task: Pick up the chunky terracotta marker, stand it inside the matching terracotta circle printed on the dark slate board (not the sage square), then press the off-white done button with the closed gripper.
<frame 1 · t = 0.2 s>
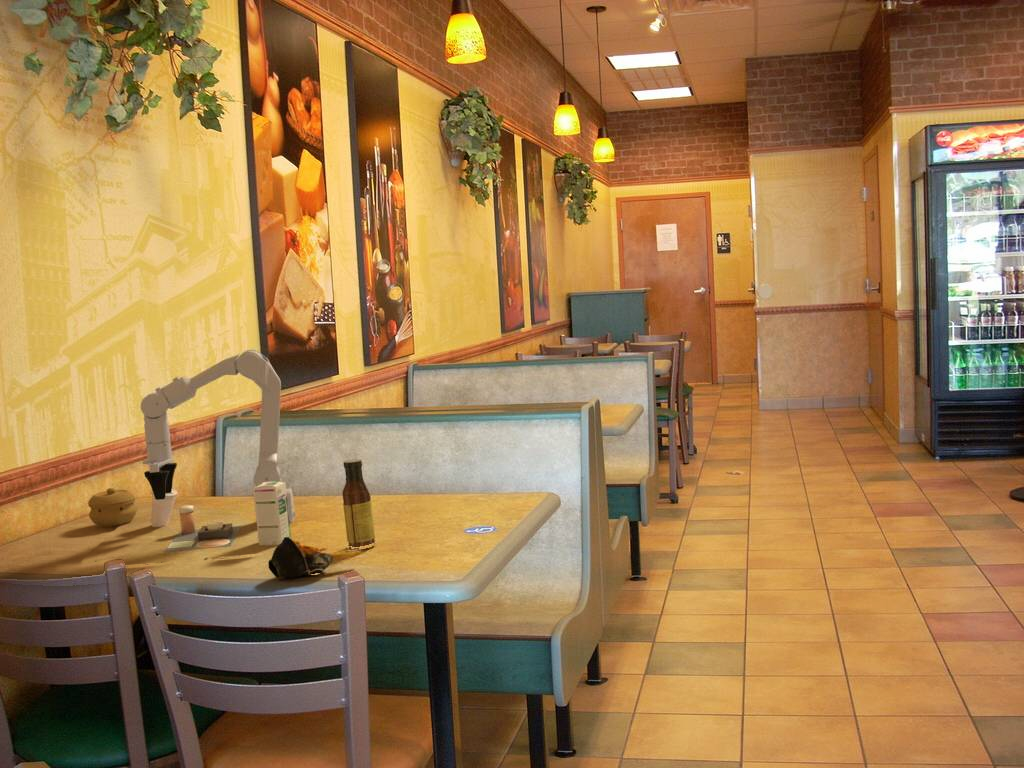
hand: (163, 496, 262), 10 cm above the table, fingers open, 7 cm apart
terracotta marker: (188, 532, 260), point 1 cm above the table, touching picture board
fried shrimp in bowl: (315, 575, 220), on the table
picture board: (204, 541, 254), on the table
button collar: (216, 539, 255), resting on picture board
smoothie: (159, 526, 271), on the table, touching gripper
pot: (114, 526, 278), on the table
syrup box: (275, 546, 246), on the table
sauce bottle: (361, 548, 240), on the table
done button: (215, 527, 255), point 3 cm above the table, slide at 0.0 cm
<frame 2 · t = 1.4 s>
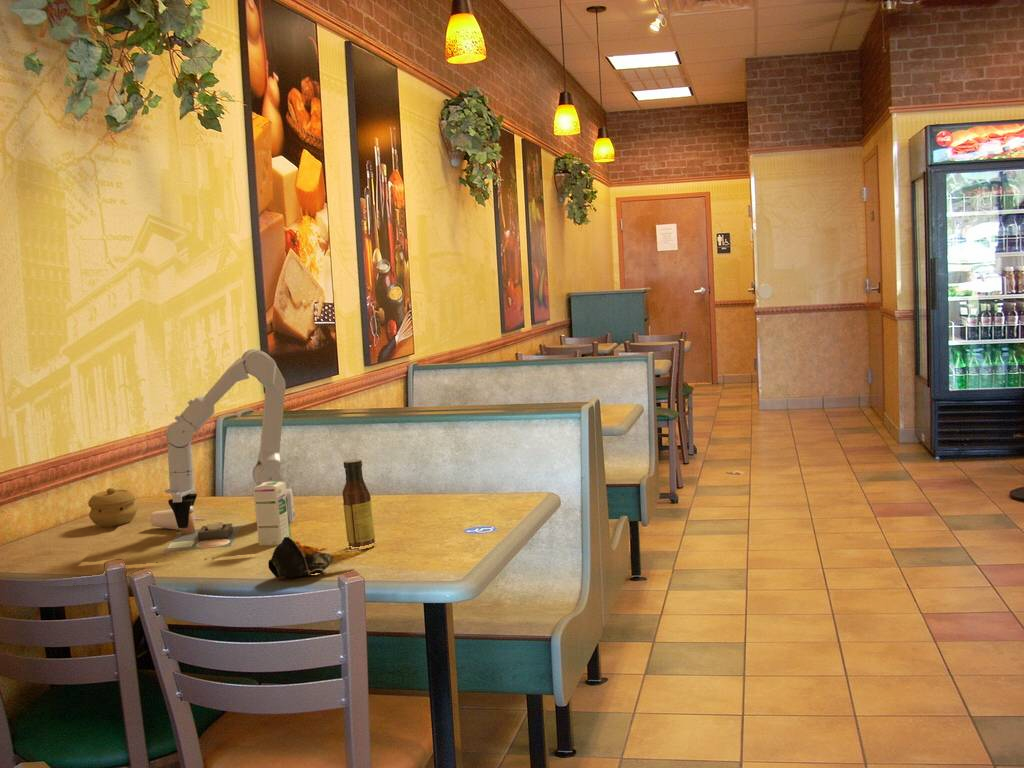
hand: (184, 525, 260), 3 cm above the table, fingers closed on terracotta marker, 3 cm apart
terracotta marker: (188, 533, 260), point 1 cm above the table, touching gripper, picture board
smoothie: (153, 518, 267), point 3 cm above the table, touching gripper, picture board
everything else where it was.
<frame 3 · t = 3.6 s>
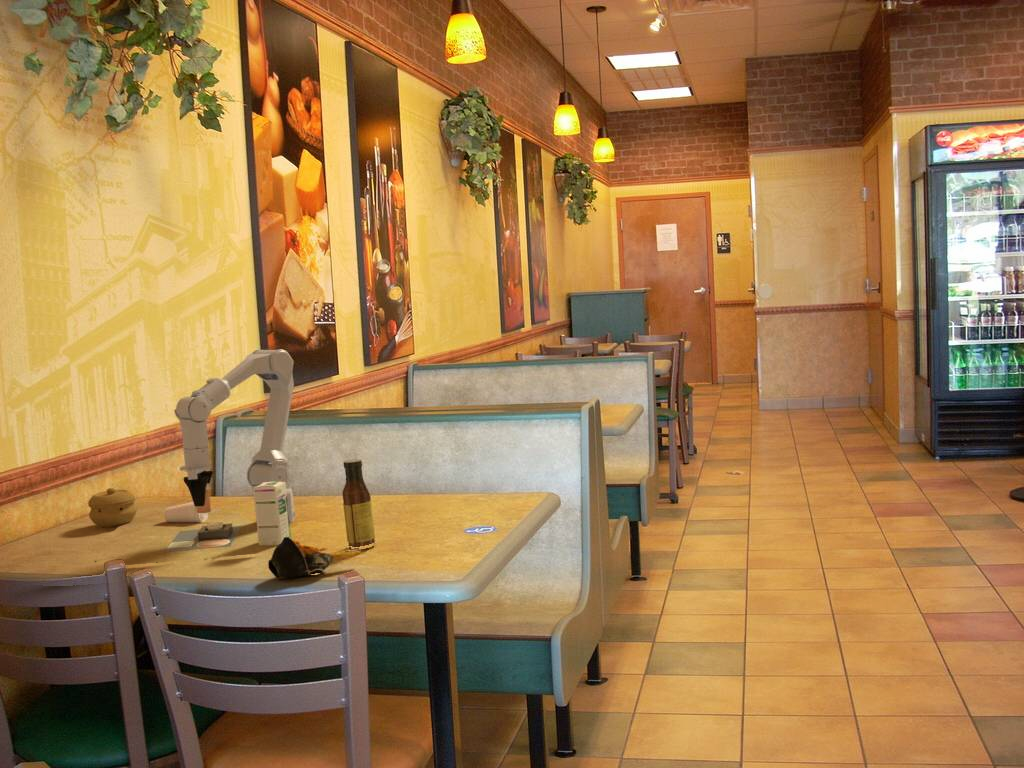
hand: (201, 504, 251), 9 cm above the table, fingers closed on terracotta marker, 3 cm apart
terracotta marker: (204, 511, 251), point 8 cm above the table, touching gripper
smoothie: (166, 515, 274), point 3 cm above the table
everything else where it was.
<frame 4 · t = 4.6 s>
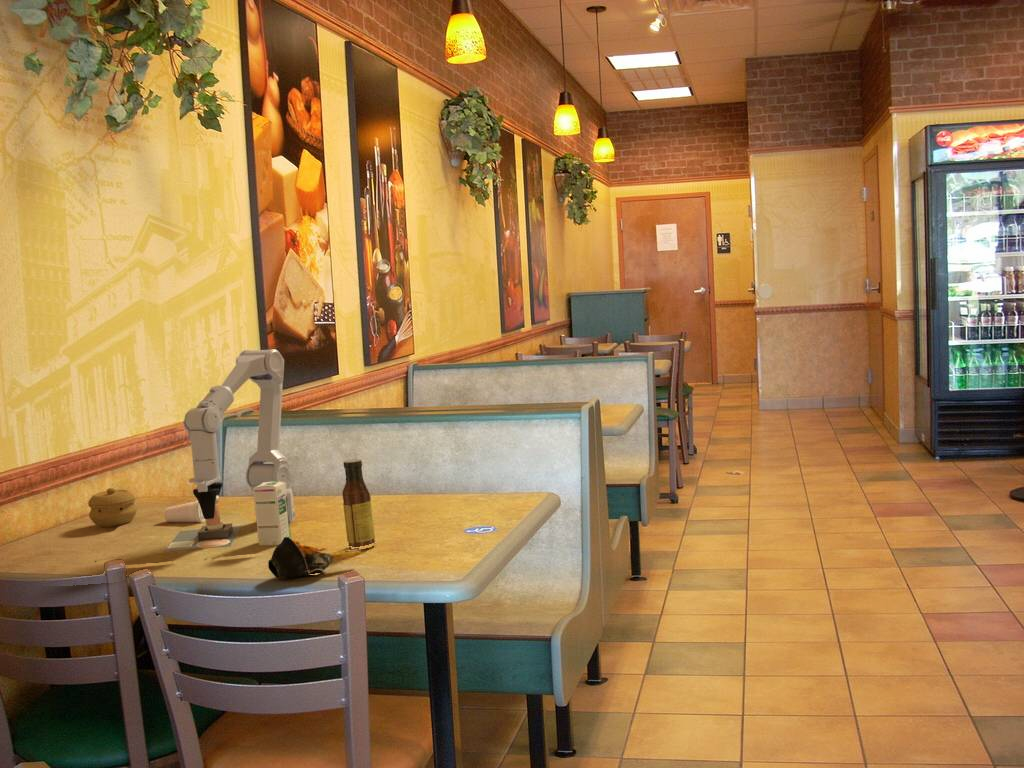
hand: (210, 516, 247), 7 cm above the table, fingers closed on terracotta marker, 3 cm apart
terracotta marker: (213, 524, 247), point 5 cm above the table, touching gripper
everything else where it was.
when the fingers open (4 cm above the table, at t = 5.7 s): terracotta marker stays where it is, resting on picture board.
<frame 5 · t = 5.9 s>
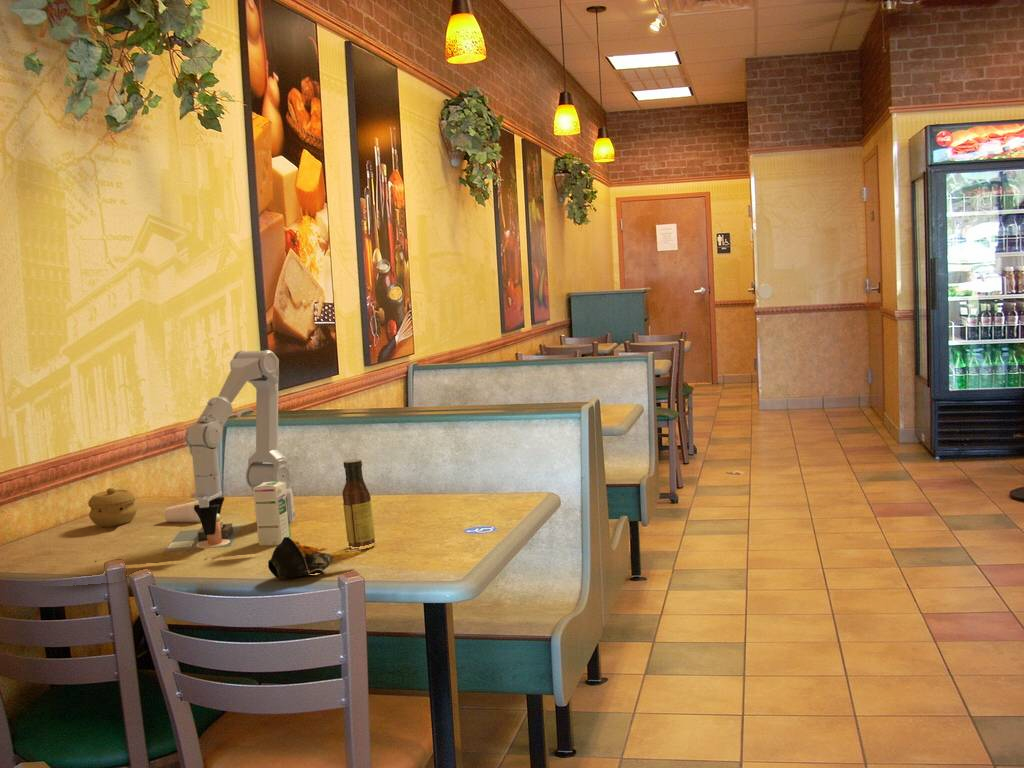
hand: (212, 531, 248), 4 cm above the table, fingers open, 5 cm apart
terracotta marker: (215, 542, 248), point 1 cm above the table, touching picture board
everything else where it was.
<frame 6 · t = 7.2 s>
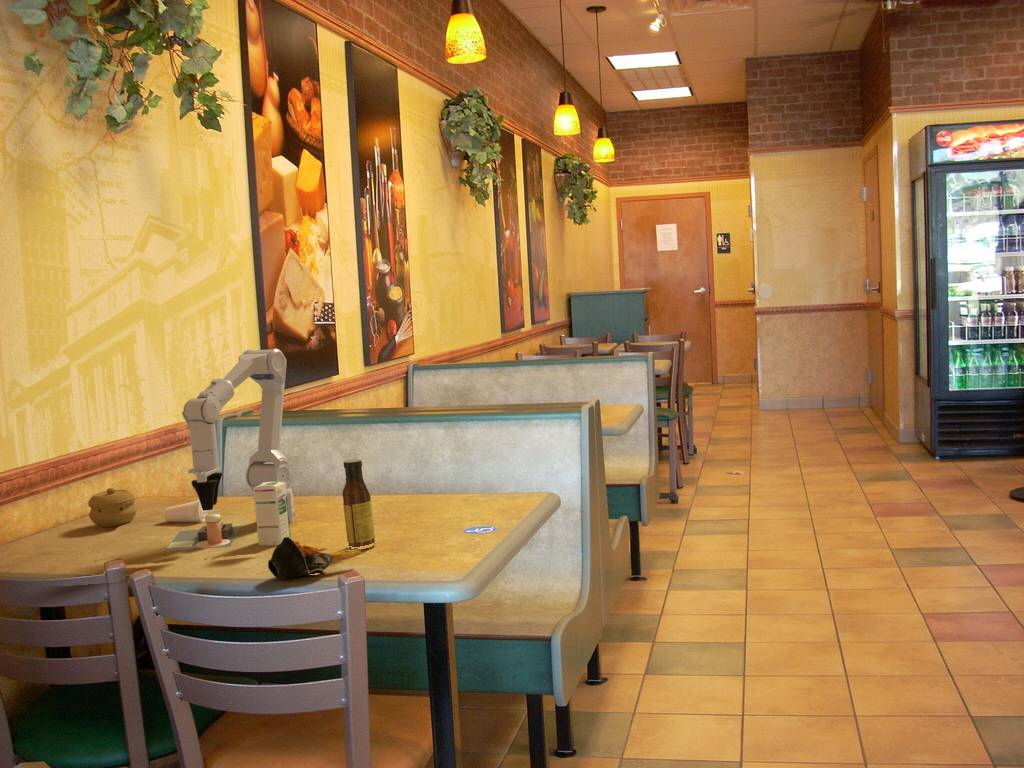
hand: (209, 507, 247), 9 cm above the table, fingers open, 5 cm apart
nothing on the table moved.
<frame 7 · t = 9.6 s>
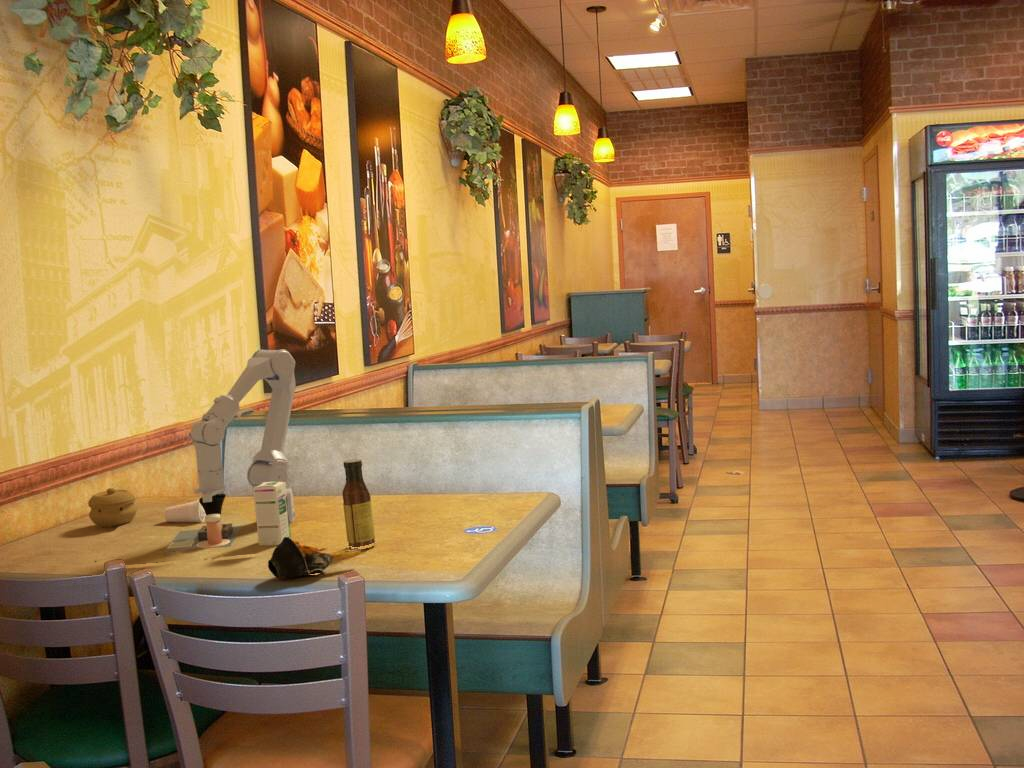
hand: (214, 525, 255), 3 cm above the table, fingers closed, pressing on done button
done button: (215, 529, 255), point 2 cm above the table, slide at 0.5 cm, touching gripper
everything else where it was.
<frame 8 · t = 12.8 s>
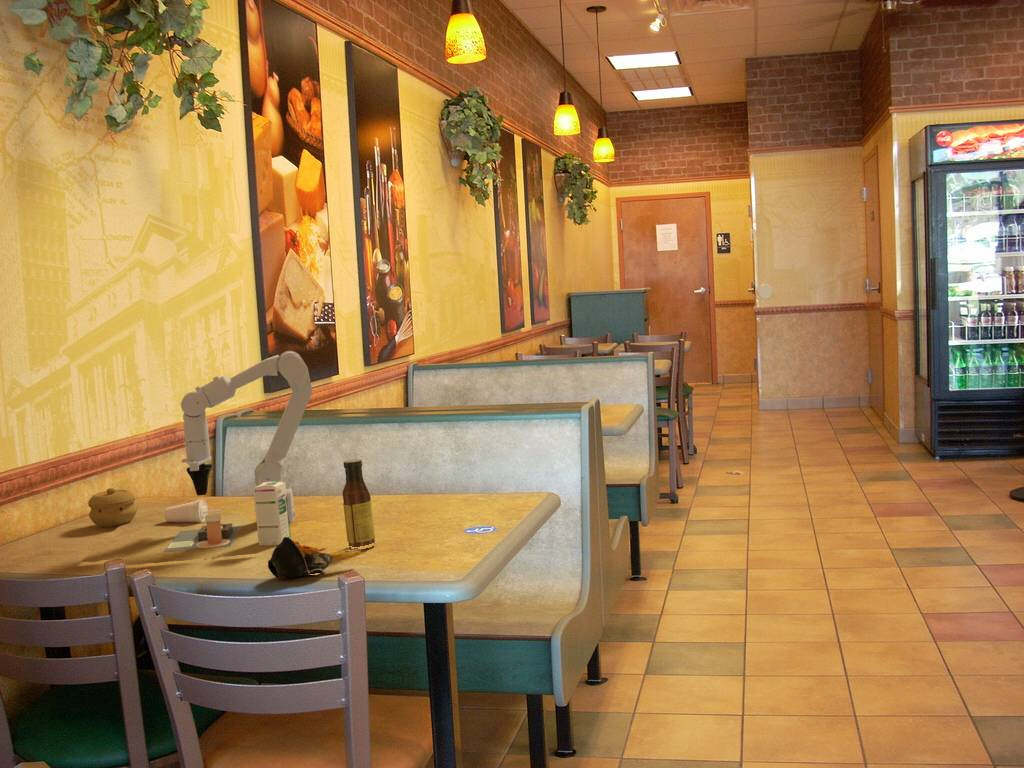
hand: (202, 494, 263), 9 cm above the table, fingers closed
done button: (215, 530, 255), point 2 cm above the table, slide at 0.8 cm
everything else where it was.
at the end: terracotta marker 0.5 cm from the target spot, point 0.9 cm above the table; terracotta marker tilted 0°; done button slide at 0.8 cm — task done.
